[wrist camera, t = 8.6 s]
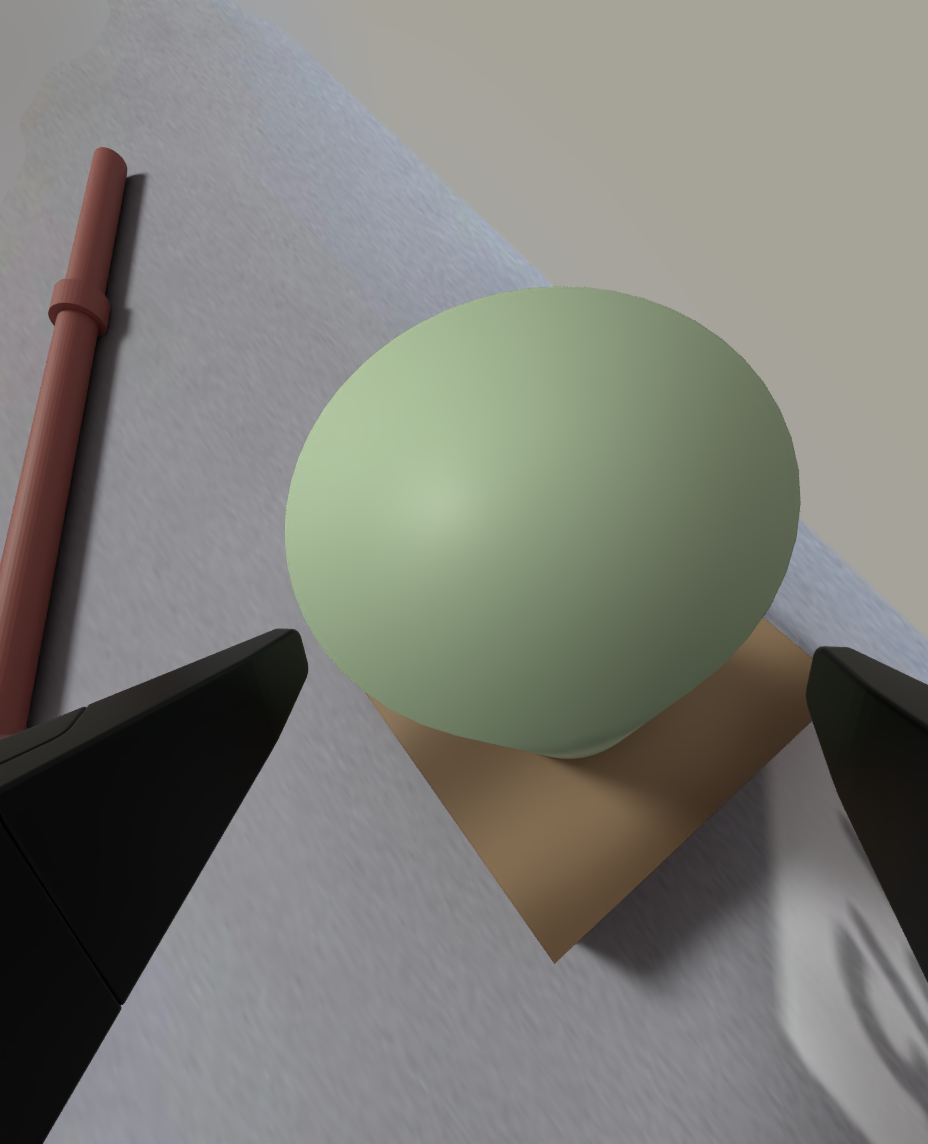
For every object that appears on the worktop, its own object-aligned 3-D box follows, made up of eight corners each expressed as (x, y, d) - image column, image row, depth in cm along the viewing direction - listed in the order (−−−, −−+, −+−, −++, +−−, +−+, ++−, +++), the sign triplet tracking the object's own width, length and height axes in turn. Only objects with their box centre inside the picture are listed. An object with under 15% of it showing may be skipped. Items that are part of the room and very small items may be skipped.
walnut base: (808, 698, 18) (847, 687, 15) (559, 932, 17) (554, 964, 15) (572, 494, 23) (570, 457, 20) (370, 669, 22) (339, 656, 20)
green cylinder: (687, 680, 17) (941, 465, 5) (559, 797, 16) (483, 884, 4) (566, 565, 19) (533, 224, 7) (452, 665, 18) (211, 486, 7)
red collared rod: (110, 188, 43) (76, 146, 40) (143, 176, 42) (111, 133, 40) (0, 744, 26) (-73, 741, 23) (53, 734, 25) (-15, 730, 22)
